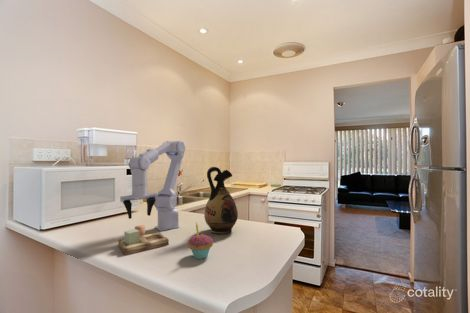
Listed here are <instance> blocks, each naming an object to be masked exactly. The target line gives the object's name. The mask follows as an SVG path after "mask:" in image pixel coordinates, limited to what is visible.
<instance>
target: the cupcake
mask: <svg viewBox="0 0 470 313" xmlns="http://www.w3.org/2000/svg"><path fill="white" fill-rule="evenodd" d="M195 230H196V235H194V236H192V237H190V239H188V242H187V246H188V248H189V249H190V250H191V252H192V255H193V258H195V259H198V260H202V259H206V258H207V257H208V256H209V252H210V249H211V248H212V247H213V246H214V245H213V244H214V242H213V238H212V237H211V236H209V235H207V234H205V233H204V234H200V233H199V224H198V222H195Z"/></svg>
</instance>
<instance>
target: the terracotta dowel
mask: <svg viewBox="0 0 470 313" xmlns="http://www.w3.org/2000/svg"><path fill="white" fill-rule="evenodd" d="M134 229H136V230H138V231H140V236H142V235H146V226H145V225H142V224H141V225H135V226H134Z"/></svg>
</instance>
